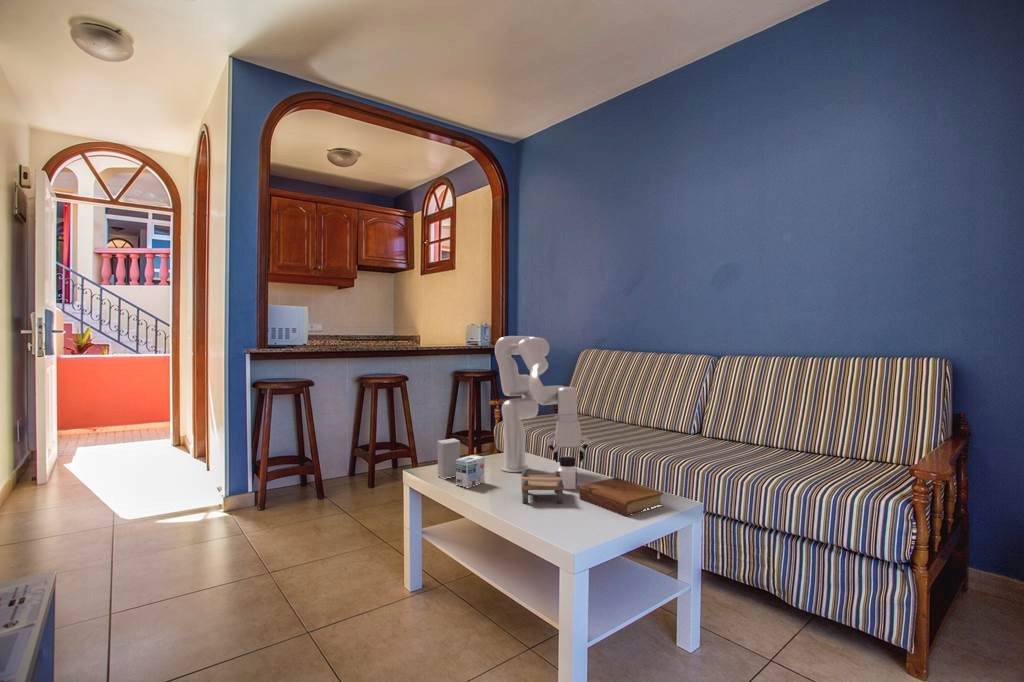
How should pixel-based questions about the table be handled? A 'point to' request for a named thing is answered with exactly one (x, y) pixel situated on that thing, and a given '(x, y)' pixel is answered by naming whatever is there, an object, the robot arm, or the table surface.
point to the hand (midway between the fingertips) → (568, 461)
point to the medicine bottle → (568, 472)
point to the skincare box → (448, 457)
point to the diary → (620, 496)
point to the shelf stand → (542, 484)
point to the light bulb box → (469, 470)
